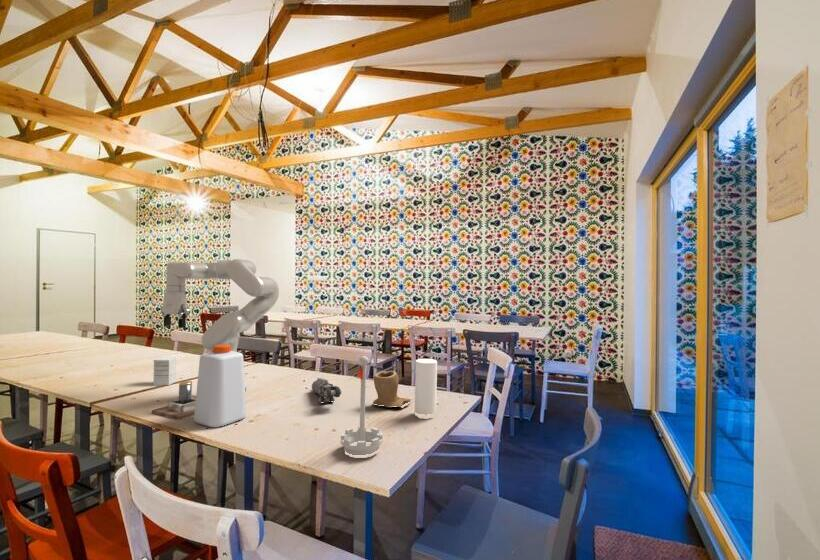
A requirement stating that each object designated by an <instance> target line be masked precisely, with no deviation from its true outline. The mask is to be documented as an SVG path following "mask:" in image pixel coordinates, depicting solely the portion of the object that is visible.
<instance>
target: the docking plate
mask: <svg viewBox="0 0 820 560" xmlns="http://www.w3.org/2000/svg"><path fill="white" fill-rule="evenodd" d="M195 403H196V397H195V398H194V397H191V402H190V403H187V404H179V398H177V399H175V400H172V401H168V405H165V406H162V407H158V408H155V409H152V410H151V414H154V415H158V416H161V417H165V416H166V418H170V417H171V418H170V419H174V418H175V420H178V419H179V420H178V421H180V419H181V420H184V419H186V417H187V418H190V417H192V416H191V415H193V416H194V413H195ZM189 416H190V417H189ZM183 418H184V419H183Z"/></svg>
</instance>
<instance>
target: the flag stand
mask: <svg viewBox="0 0 820 560" xmlns="http://www.w3.org/2000/svg"><path fill="white" fill-rule="evenodd" d="M358 362H359V364H360V369H359V371H358V373H357V375H356V377H357V378H359V379H360V396H359V397H360V406H359V426H358V429H357V430H356V429H355V430H354V429H353V428H352V427H350V428H347V429H345V430H344V432H342V433H341V434H340V444H341V446H343V451H344V450H345V451H346V452H347V453H349V454H352V455H366V454H371V453H373V452H375V451H377V450H378V449H379V450H380V446H382V444H383V437H384V436H383V435H384V434H383V432H380V429H378V428H376V427H372V428H371V430H368V429H367V426H365V425H366V380H367V378H366V377H367V364H369V358H368V356H366V355H363V356H360V358H359V360H358ZM354 442H357V445H355V444H352V443H354ZM366 442H371V443H372V444H366Z"/></svg>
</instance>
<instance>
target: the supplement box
mask: <svg viewBox="0 0 820 560" xmlns="http://www.w3.org/2000/svg"><path fill="white" fill-rule="evenodd" d="M176 368H177V357H176V356H161V357H158V358H156V359H154V360H153V385H152V386H157V387H159V386H158V385H163V386H164V385H166V386H167V385H168V386H170V385H172V384H174V383H176V381H177V380H176V375H177V373H176V372H177V369H176Z"/></svg>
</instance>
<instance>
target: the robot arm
mask: <svg viewBox="0 0 820 560" xmlns="http://www.w3.org/2000/svg"><path fill="white" fill-rule="evenodd" d="M256 273H257V267H256V264H254V262H253V261H251V260H248V259H242V258H241V259H239V258H236V259H231V260H229V259H228V260H225V259H224V260H218V261H217V262H194V261H191V262H190V261H184V262H181V261H180V262H177V261H169V262H168V263H167V265H166V283H165V284H166V286H165V293H164V295H163V296H164V297H163V302H162V306H161V307H160V309H161V314H162V317H163V327H169V326H170V327H171V325H172V317H171V316H173V315H175V316H176V315H177V316H178V320H177V321H178V323H177V324H178V325H177V328H178V329H181V328H186V323H187V319H188V316H189V313H190V309H189V308H188V307H187V298H186V279H187V280H193V279H194V280H196V279H197V280H205V279H207V280H209V279H211V280H212V279H213V280H214V279H215V280H216V279H218V280H231V281H232V282H234V283H235V284H236V286H238V287H239V288H240V289H241V290H242V291H243V292H244V293H245V294H247V295H249V296H250V297H254V298H253V299H251V300H250V301H249V302H248V303H247V304H245V305H244V306H242V308H241V309H240V310H236V311H235V310H234V311H229V312H227V313H225V314H223V315H221V316H220V317H219V318H217V320H216V321H215V322H214V323H212V325H211V326H209V327H208V328H207V329H206V330H205V331H204V333H203V334H202V335H201V345H202V347H203V348H204V349H205V350H208V351H210V352H213V347H214V346H215V345H223V344H226V345H230V346H231V351H235V352H238V351H237V350H238V346H239V340H240V335H239V334H240V333H244V332H247V331H248V330H250V329H251V328H252V327H253V326H254V325H255V324H256V323H257V322H258V321H260V319H261V318H262V317H263V316H264V315H265V314H267V313H268V312H269V311H270V310H271V309H272V308H273V307H274V305H275V304H276V303H277V301H278V299H279V295H280V290H279V289H280V288H279V284H278V283H277V281H276V280H275V279H273V278H271V277H267V276H257V275H256ZM245 392H247V387H246V386H245Z"/></svg>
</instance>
